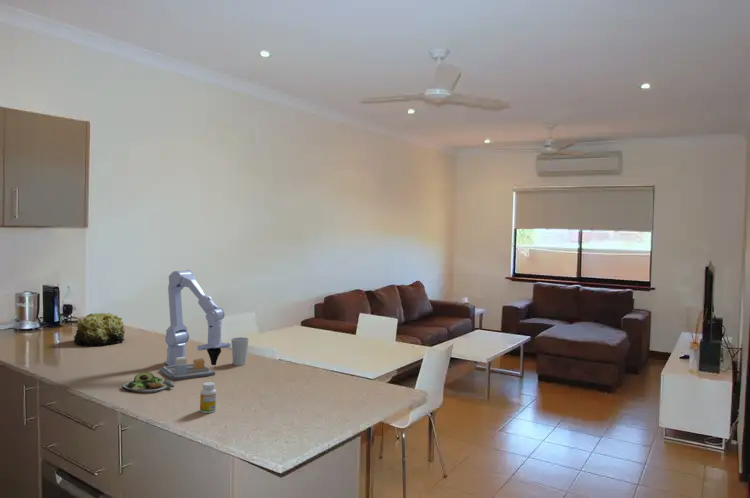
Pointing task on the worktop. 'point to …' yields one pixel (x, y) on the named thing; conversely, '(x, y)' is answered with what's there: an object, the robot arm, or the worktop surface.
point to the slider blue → (180, 369)
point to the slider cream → (181, 360)
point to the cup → (239, 350)
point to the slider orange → (198, 363)
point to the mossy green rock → (99, 330)
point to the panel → (191, 373)
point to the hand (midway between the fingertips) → (213, 364)
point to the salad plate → (147, 383)
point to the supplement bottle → (208, 398)
